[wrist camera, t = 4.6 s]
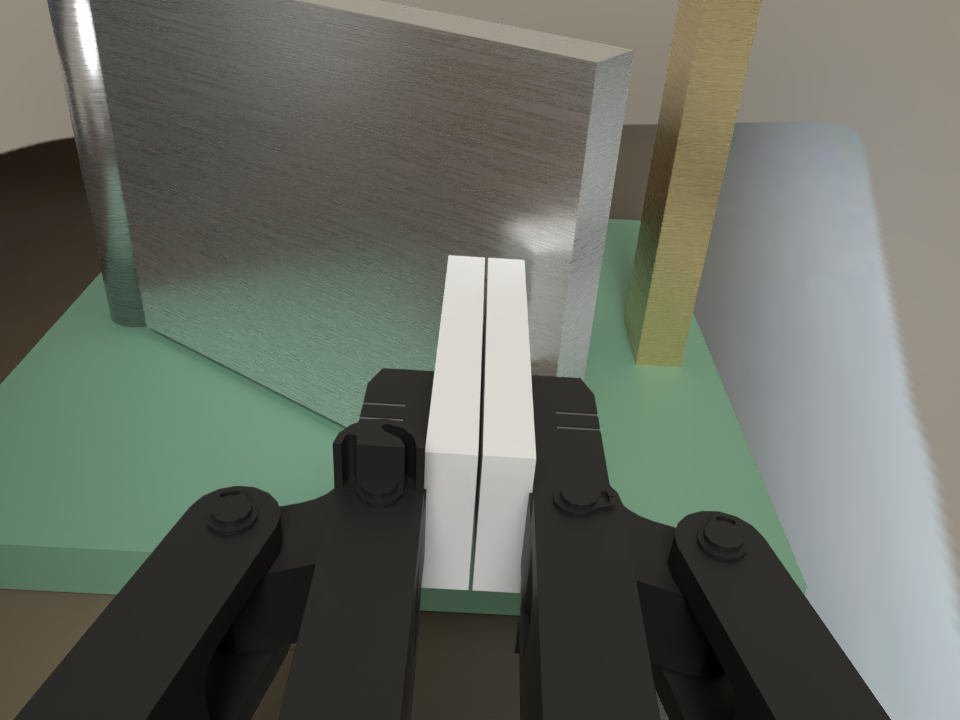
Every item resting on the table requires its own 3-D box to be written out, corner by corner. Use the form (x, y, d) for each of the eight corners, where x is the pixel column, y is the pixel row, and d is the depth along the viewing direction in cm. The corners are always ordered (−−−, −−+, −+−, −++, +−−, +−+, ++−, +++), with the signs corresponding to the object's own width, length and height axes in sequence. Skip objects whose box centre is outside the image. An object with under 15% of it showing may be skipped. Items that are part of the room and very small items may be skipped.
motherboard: (-116, 582, 20) (-136, 536, 19) (176, 222, 39) (172, 192, 38) (790, 629, 21) (806, 586, 20) (649, 251, 39) (655, 221, 38)
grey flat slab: (146, 325, 27) (81, -45, 22) (183, 309, 29) (131, -48, 23) (537, 524, 21) (597, 62, 15) (567, 492, 22) (634, 50, 16)
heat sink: (94, 333, 27) (-1, -115, 21) (195, 206, 37) (152, -131, 30) (680, 366, 28) (775, -62, 21) (634, 233, 37) (689, -94, 30)
